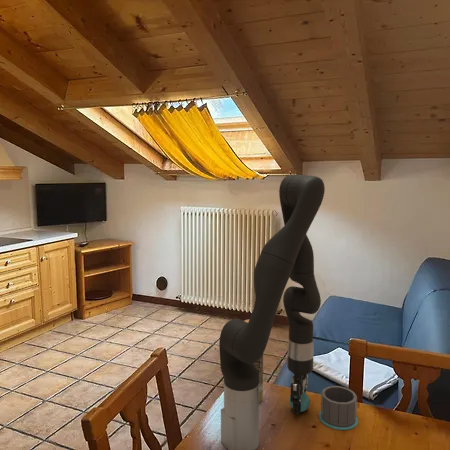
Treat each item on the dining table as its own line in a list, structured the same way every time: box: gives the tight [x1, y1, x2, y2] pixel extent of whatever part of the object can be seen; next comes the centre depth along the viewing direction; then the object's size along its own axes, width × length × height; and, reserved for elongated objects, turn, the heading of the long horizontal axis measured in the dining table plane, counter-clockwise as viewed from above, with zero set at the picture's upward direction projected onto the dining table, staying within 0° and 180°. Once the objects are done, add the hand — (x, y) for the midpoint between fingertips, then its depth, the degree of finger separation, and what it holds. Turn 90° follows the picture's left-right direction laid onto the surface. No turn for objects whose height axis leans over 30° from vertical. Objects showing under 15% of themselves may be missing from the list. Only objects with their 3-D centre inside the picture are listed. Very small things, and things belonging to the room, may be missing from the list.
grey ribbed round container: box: [318, 385, 359, 431], centre depth 124 cm, size 11×11×7 cm
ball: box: [288, 390, 311, 413], centre depth 128 cm, size 6×6×6 cm
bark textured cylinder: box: [243, 318, 264, 404], centre depth 132 cm, size 7×7×25 cm
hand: (299, 406), depth 128 cm, fingers open, 7 cm apart
